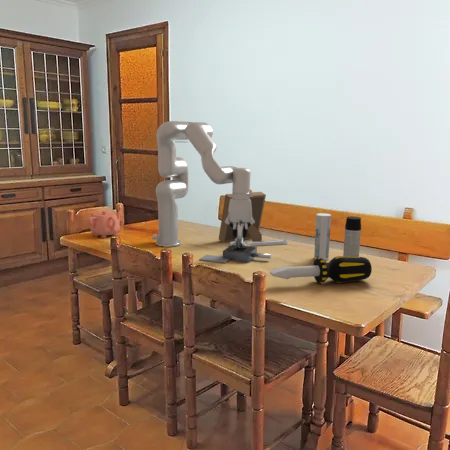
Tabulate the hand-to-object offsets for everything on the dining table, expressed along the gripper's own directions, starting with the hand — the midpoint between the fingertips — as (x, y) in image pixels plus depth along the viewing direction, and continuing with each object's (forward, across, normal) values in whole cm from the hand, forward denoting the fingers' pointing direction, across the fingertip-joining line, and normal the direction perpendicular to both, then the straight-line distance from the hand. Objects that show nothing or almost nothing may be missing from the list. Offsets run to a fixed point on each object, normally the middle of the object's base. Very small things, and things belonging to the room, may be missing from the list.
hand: (239, 237), depth 208 cm
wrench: (+9, -16, -18) cm, 25 cm away
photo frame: (+10, -9, -30) cm, 32 cm away
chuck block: (+9, -4, +2) cm, 10 cm away
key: (+4, 0, 0) cm, 4 cm away
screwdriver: (+9, -24, +40) cm, 47 cm away
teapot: (+11, +62, -53) cm, 82 cm away
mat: (+10, +11, +2) cm, 15 cm away
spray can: (+9, -47, +14) cm, 50 cm away
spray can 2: (+9, -36, +6) cm, 38 cm away
